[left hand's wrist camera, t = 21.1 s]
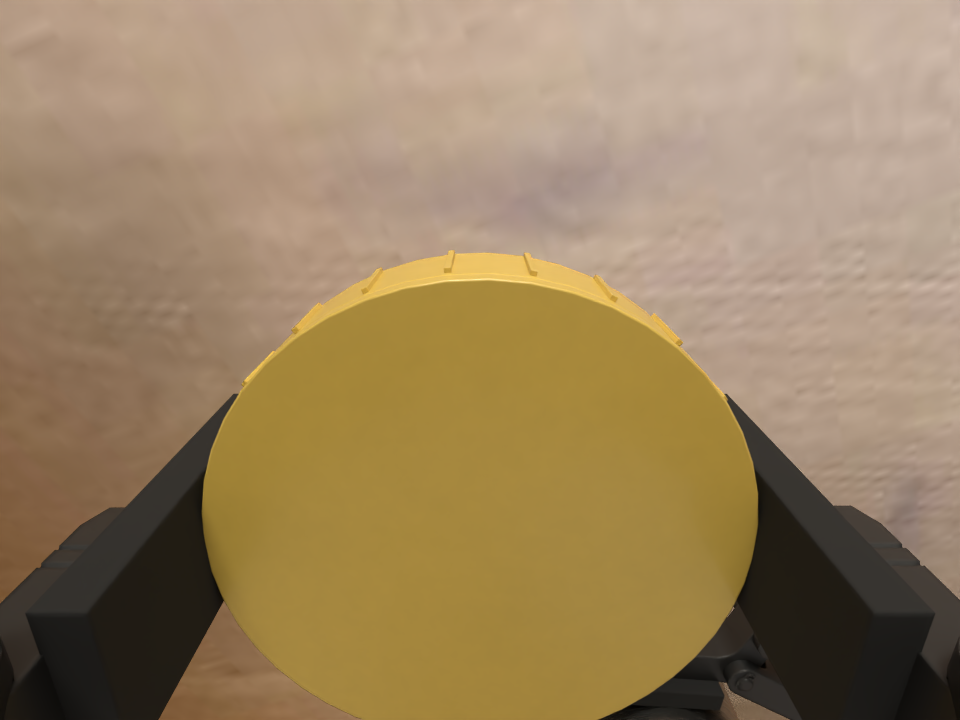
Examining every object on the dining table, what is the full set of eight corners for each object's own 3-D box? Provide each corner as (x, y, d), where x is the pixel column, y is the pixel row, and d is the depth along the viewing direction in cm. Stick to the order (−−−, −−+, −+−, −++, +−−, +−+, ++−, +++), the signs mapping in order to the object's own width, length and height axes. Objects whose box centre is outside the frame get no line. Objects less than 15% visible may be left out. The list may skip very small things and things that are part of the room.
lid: (183, 276, 11) (117, 307, 9) (729, 220, 10) (787, 240, 8) (298, 675, 14) (269, 760, 12) (709, 643, 14) (746, 725, 12)
